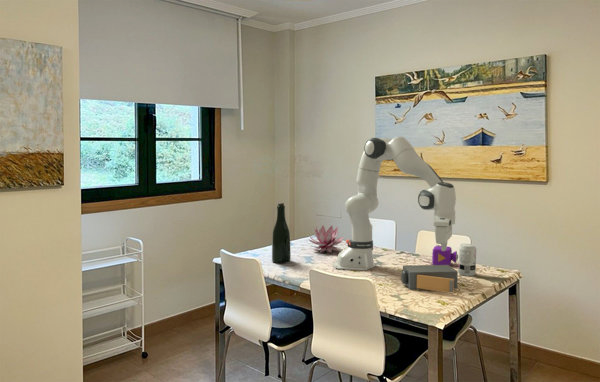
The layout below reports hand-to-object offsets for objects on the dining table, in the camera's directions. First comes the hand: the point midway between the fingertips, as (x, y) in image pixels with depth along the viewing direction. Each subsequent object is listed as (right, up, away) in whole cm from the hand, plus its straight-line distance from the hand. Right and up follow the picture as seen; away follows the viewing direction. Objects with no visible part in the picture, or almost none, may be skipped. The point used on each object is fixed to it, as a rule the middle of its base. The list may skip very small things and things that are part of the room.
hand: (443, 250), depth 216 cm
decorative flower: (-48, -11, +82) cm, 96 cm away
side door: (-4, -18, +1) cm, 18 cm away
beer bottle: (-74, -13, +58) cm, 95 cm away
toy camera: (+15, -14, +50) cm, 54 cm away
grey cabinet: (-3, -18, +12) cm, 22 cm away
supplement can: (+21, -16, +31) cm, 40 cm away
